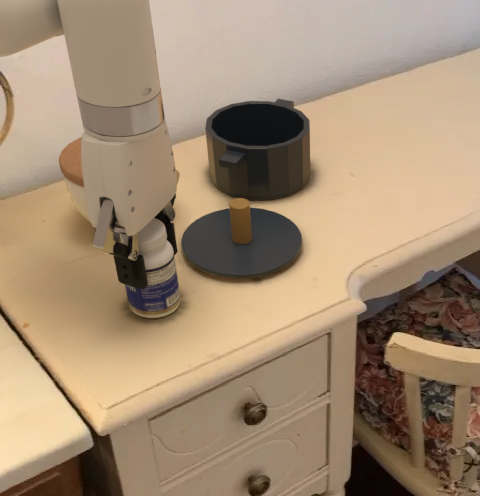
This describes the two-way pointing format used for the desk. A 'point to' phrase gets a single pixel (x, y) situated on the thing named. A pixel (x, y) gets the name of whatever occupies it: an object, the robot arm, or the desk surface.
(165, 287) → the pill bottle
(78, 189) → the lidded bowl
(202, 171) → the desk surface
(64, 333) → the desk surface
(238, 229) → the pan lid
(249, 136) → the pan
